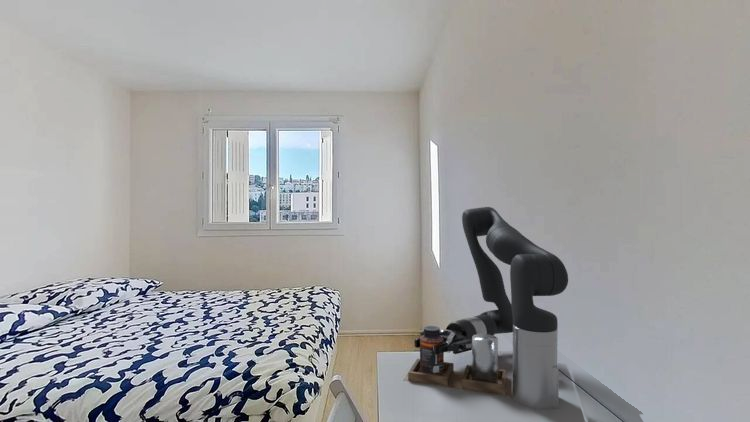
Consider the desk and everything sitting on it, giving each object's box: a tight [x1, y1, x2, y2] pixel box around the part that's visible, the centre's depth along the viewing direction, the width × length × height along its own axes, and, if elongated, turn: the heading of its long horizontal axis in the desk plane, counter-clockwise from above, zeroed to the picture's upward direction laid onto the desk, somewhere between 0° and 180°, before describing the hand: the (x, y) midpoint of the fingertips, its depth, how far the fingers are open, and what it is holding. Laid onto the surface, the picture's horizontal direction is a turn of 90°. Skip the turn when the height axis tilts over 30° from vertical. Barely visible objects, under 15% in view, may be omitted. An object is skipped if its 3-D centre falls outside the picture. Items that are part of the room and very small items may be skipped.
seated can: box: [471, 334, 499, 384], centre depth 95 cm, size 6×6×11 cm
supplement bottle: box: [419, 325, 445, 375], centre depth 100 cm, size 6×6×11 cm
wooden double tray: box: [403, 358, 512, 398], centre depth 97 cm, size 25×10×3 cm, turn 70°
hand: (425, 347), depth 98 cm, fingers closed on supplement bottle, 6 cm apart
